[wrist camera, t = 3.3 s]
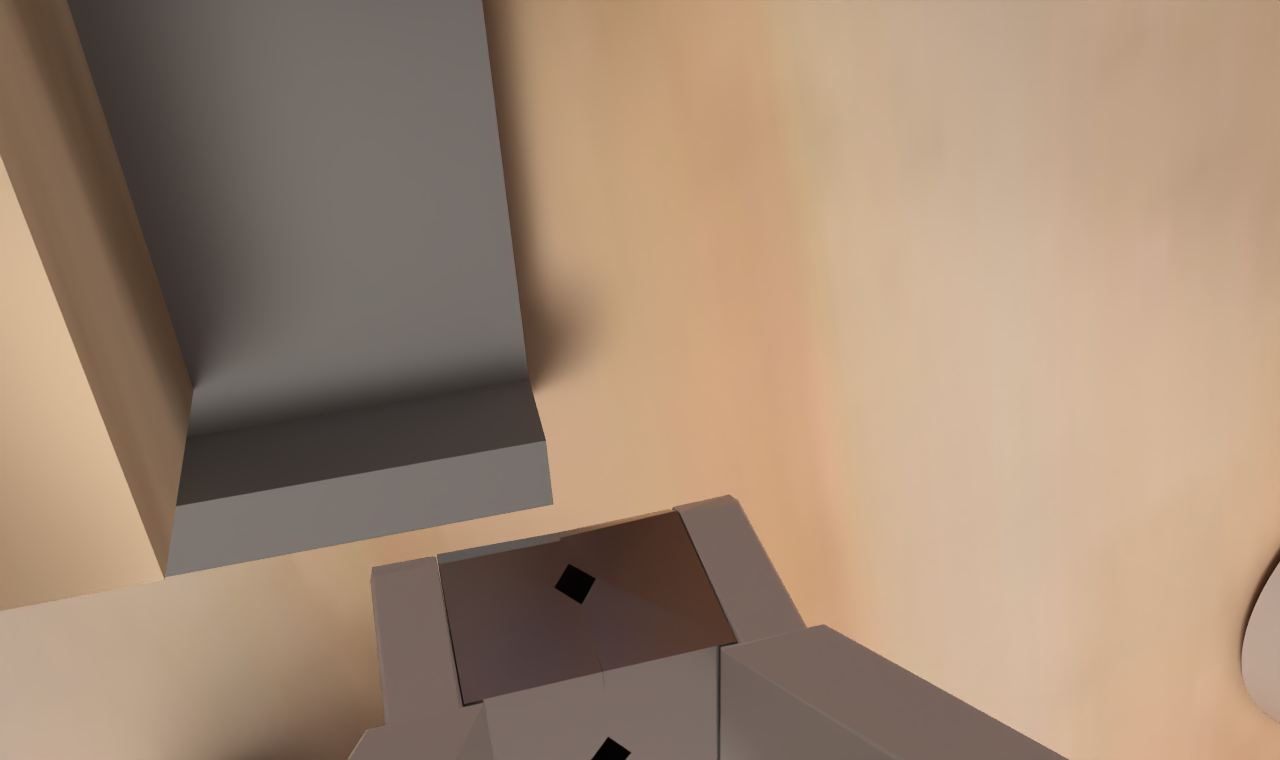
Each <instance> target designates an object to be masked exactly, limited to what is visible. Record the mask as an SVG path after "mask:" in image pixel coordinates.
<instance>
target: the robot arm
mask: <svg viewBox="0 0 1280 760" xmlns="http://www.w3.org/2000/svg"><path fill="white" fill-rule="evenodd" d="M437 559H438V565H439V572H440V577H439V572H438V567H437V562H436V558H435V557H427V558H421V559H416V560H410V561H405V562H399V563H394V564H388V565H383V566H377V567H372V574H371V591H372V600H373V610H374V620H375V629H376V639H377V649H378V658H379V668H380V678H381V687H382V697H383V707H384V716H385V725H383V726H379V727H375V728H371V729H367V730H365V732H364V734H363V735H362V737H361V738H360V740H359V742H358V743H357V745H356V746H355V748H354V750H353V751H352V753H351V754H350V756H349V758H348V759H347V760H1068V759H1067V758H1065V757H1063V756H1061V755H1059V754H1058V753H1056V752H1054V751H1052V750H1050V749H1049V748H1047V747H1045V746H1043V745H1041V744H1040V743H1038V742H1036V741H1034V740H1032V739H1031V738H1029V737H1027V736H1025V735H1023V734H1021V733H1020V732H1018V731H1016V730H1014V729H1012V728H1011V727H1009V726H1007V725H1005V724H1003V723H1002V722H1000V721H998V720H996V719H994V718H993V717H991V716H989V715H987V714H985V713H984V712H982V711H980V710H978V709H976V708H975V707H973V706H971V705H969V704H967V703H966V702H964V701H962V700H960V699H958V698H957V697H955V696H953V695H951V694H949V693H948V692H946V691H944V690H942V689H940V688H939V687H937V686H935V685H933V684H931V683H929V682H928V681H926V680H924V679H922V678H920V677H919V676H917V675H915V674H913V673H911V672H910V671H908V670H906V669H904V668H902V667H901V666H899V665H897V664H895V663H893V662H892V661H890V660H888V659H886V658H884V657H883V656H881V655H879V654H877V653H875V652H874V651H872V650H870V649H868V648H866V647H865V646H863V645H861V644H859V643H857V642H856V641H854V640H852V639H850V638H848V637H846V636H845V635H843V634H841V633H839V632H837V631H836V630H834V629H832V628H830V627H828V626H827V625H825V624H824V625H819V626H814V627H809V628H807V627H806V625H805V623H804V621H803V619H802V618H801V616H800V614H799V612H798V610H797V608H796V606H795V605H794V603H793V601H792V599H791V597H790V595H789V594H788V592H787V590H786V588H785V586H784V584H783V582H782V581H781V579H780V577H779V575H778V573H777V571H776V569H775V568H774V566H773V564H772V562H771V560H770V558H769V557H768V555H767V553H766V551H765V549H764V547H763V545H762V544H761V542H760V540H759V538H758V536H757V534H756V533H755V531H754V529H753V527H752V525H751V523H750V521H749V520H748V518H747V516H746V514H745V512H744V510H743V508H742V507H741V505H740V503H739V501H738V500H737V499H735V498H734V497H732V496H731V495H725V496H721V497H716V498H712V499H707V500H703V501H699V502H694V503H690V504H685V505H681V506H676V507H673V509H672V510H670V509H667V510H663V511H658V512H653V513H648V514H644V515H639V516H634V517H629V518H625V519H620V520H615V521H611V522H606V523H601V524H596V525H592V526H587V527H582V528H577V529H573V530H568V531H563V532H558V533H553V534H548V535H542V536H537V537H531V538H526V539H520V540H515V541H509V542H503V543H498V544H492V545H487V546H481V547H476V548H470V549H465V550H459V551H454V552H448V553H443V554H437ZM440 578H441V583H442V588H441V583H440ZM442 589H443V593H442ZM443 595H444V599H443ZM444 601H445V604H444ZM445 606H446V609H445ZM446 612H447V614H446ZM447 618H448V620H447ZM448 623H449V625H448ZM449 629H450V630H449ZM1242 675H1243V679H1244V684H1245V687H1246V689H1247V692H1248V694H1249V696H1250V698H1251V699H1252V701H1253V702H1254V703H1255V705H1256V706H1257V707H1258V708H1259V709H1260V710H1261V711H1262V712H1263V713H1264V714H1266V715H1267V716H1268V717H1270V718H1271V719H1273V720H1274V721H1276V722H1277V723H1279V724H1280V562H1279V564H1278V565H1277V567H1276V568H1275V570H1274V572H1273V573H1272V575H1271V576H1270V578H1269V580H1268V581H1267V583H1266V585H1265V587H1264V589H1263V590H1262V592H1261V594H1260V596H1259V598H1258V601H1257V603H1256V605H1255V607H1254V610H1253V612H1252V615H1251V617H1250V620H1249V623H1248V626H1247V629H1246V633H1245V638H1244V642H1243V649H1242Z"/></svg>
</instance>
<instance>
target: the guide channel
mask: <svg viewBox="0 0 1280 760" xmlns="http://www.w3.org/2000/svg"><path fill="white" fill-rule="evenodd" d="M67 2H68V5H69V8H70V11H71V14H72V18H73V21H74V24H75V27H76V30H77V33H78V36H79V39H80V42H81V45H82V48H83V51H84V54H85V58H86V61H87V64H88V67H89V70H90V73H91V76H92V79H93V82H94V85H95V88H96V91H97V94H98V97H99V101H100V104H101V107H102V110H103V113H104V116H105V119H106V122H107V125H108V128H109V131H110V134H111V137H112V140H113V144H114V147H115V150H116V153H117V156H118V159H119V162H120V165H121V168H122V171H123V174H124V177H125V180H126V183H127V187H128V190H129V193H130V196H131V199H132V202H133V205H134V208H135V211H136V214H137V217H138V220H139V223H140V227H141V230H142V233H143V236H144V239H145V242H146V245H147V248H148V251H149V254H150V257H151V260H152V263H153V266H154V270H155V273H156V276H157V279H158V282H159V285H160V288H161V291H162V294H163V297H164V300H165V303H166V306H167V309H168V313H169V316H170V319H171V322H172V325H173V328H174V331H175V334H176V337H177V340H178V343H179V346H180V349H181V352H182V356H183V359H184V362H185V365H186V368H187V371H188V374H189V377H190V380H191V383H192V386H193V389H194V391H193V398H192V404H191V411H190V417H189V424H188V430H187V437H186V443H185V450H184V456H183V463H182V469H181V476H180V483H179V489H178V496H177V502H176V509H175V515H174V522H173V528H172V535H171V541H170V548H169V554H168V561H167V567H166V574H165V577H168V576H174V575H179V574H184V573H190V572H195V571H200V570H206V569H211V568H216V567H222V566H227V565H232V564H238V563H243V562H248V561H254V560H259V559H264V558H270V557H275V556H280V555H286V554H291V553H296V552H302V551H307V550H312V549H318V548H323V547H328V546H334V545H339V544H344V543H350V542H355V541H360V540H366V539H371V538H376V537H382V536H387V535H392V534H398V533H403V532H408V531H414V530H419V529H424V528H430V527H435V526H441V525H446V524H451V523H457V522H462V521H467V520H473V519H478V518H483V517H489V516H494V515H499V514H505V513H510V512H515V511H521V510H526V509H531V508H537V507H542V506H547V505H553V497H552V489H551V480H550V472H549V463H548V455H547V446H546V439H545V436H544V432H543V429H542V425H541V421H540V418H539V414H538V410H537V407H536V403H535V399H534V396H533V392H532V389H531V385H530V381H529V375H528V367H527V359H526V351H525V343H524V335H523V327H522V319H521V310H520V302H519V294H518V286H517V278H516V270H515V262H514V254H513V246H512V238H511V230H510V222H509V214H508V206H507V197H506V189H505V181H504V173H503V165H502V157H501V149H500V141H499V133H498V125H497V117H496V109H495V101H494V93H493V84H492V76H491V68H490V60H489V52H488V44H487V36H486V28H485V20H484V12H483V4H482V0H67Z"/></svg>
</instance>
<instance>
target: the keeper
mask: <svg viewBox="0 0 1280 760" xmlns="http://www.w3.org/2000/svg"><path fill="white" fill-rule="evenodd" d="M193 391H194V389H193V386H192V383H191V380H190V377H189V374H188V371H187V368H186V365H185V362H184V359H183V356H182V352H181V349H180V346H179V343H178V340H177V337H176V334H175V331H174V328H173V325H172V322H171V319H170V316H169V313H168V309H167V306H166V303H165V300H164V297H163V294H162V291H161V288H160V285H159V282H158V279H157V276H156V273H155V270H154V266H153V263H152V260H151V257H150V254H149V251H148V248H147V245H146V242H145V239H144V236H143V233H142V230H141V227H140V223H139V220H138V217H137V214H136V211H135V208H134V205H133V202H132V199H131V196H130V193H129V190H128V187H127V183H126V180H125V177H124V174H123V171H122V168H121V165H120V162H119V159H118V156H117V153H116V150H115V147H114V144H113V140H112V137H111V134H110V131H109V128H108V125H107V122H106V119H105V116H104V113H103V110H102V107H101V104H100V101H99V97H98V94H97V91H96V88H95V85H94V82H93V79H92V76H91V73H90V70H89V67H88V64H87V61H86V58H85V54H84V51H83V48H82V45H81V42H80V39H79V36H78V33H77V30H76V27H75V24H74V21H73V18H72V14H71V11H70V8H69V5H68V2H67V0H0V611H2V610H7V609H12V608H17V607H23V606H28V605H33V604H39V603H44V602H49V601H55V600H60V599H65V598H71V597H76V596H81V595H87V594H92V593H97V592H103V591H108V590H113V589H119V588H124V587H129V586H135V585H140V584H145V583H151V582H156V581H161V580H165V574H166V567H167V561H168V554H169V548H170V541H171V535H172V528H173V522H174V515H175V509H176V502H177V496H178V489H179V483H180V476H181V469H182V463H183V456H184V450H185V443H186V437H187V430H188V424H189V417H190V411H191V404H192V398H193Z"/></svg>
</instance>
